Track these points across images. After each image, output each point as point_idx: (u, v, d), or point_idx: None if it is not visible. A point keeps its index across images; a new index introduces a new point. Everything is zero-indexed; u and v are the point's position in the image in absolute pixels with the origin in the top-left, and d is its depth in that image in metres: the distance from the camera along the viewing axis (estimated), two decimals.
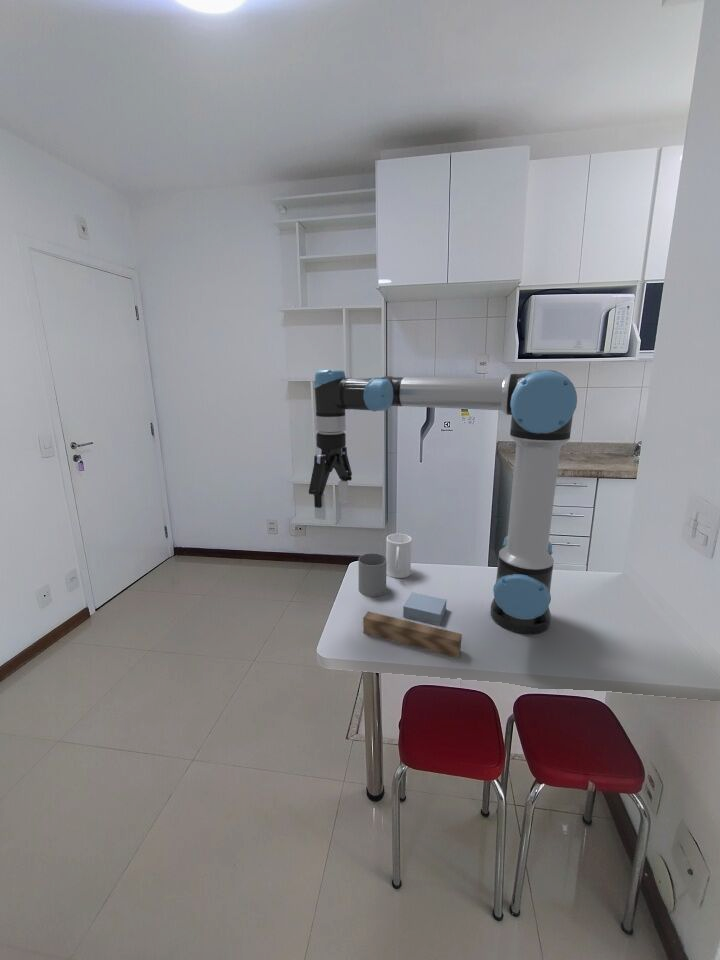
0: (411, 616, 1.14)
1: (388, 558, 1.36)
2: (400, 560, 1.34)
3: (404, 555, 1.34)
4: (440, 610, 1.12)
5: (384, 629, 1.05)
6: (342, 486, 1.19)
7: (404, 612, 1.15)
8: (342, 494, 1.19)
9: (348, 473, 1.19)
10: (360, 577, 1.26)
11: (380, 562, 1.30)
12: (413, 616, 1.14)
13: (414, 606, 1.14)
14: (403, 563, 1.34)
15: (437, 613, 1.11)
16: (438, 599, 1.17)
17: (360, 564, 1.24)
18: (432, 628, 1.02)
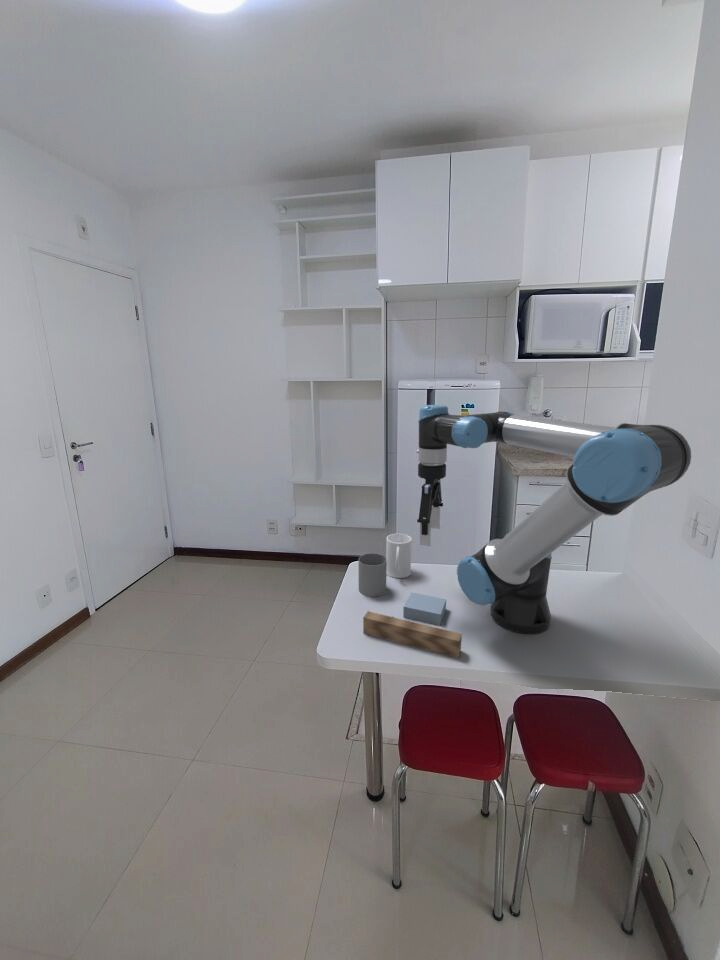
0: (411, 616, 1.14)
1: (388, 558, 1.36)
2: (400, 560, 1.34)
3: (404, 555, 1.34)
4: (440, 610, 1.12)
5: (384, 629, 1.05)
6: (434, 512, 1.25)
7: (404, 612, 1.14)
8: (434, 519, 1.26)
9: (439, 499, 1.26)
10: (360, 577, 1.26)
11: (380, 562, 1.30)
12: (413, 616, 1.14)
13: (414, 606, 1.14)
14: (403, 563, 1.34)
15: (437, 613, 1.11)
16: (438, 599, 1.18)
17: (360, 564, 1.24)
18: (432, 628, 1.02)
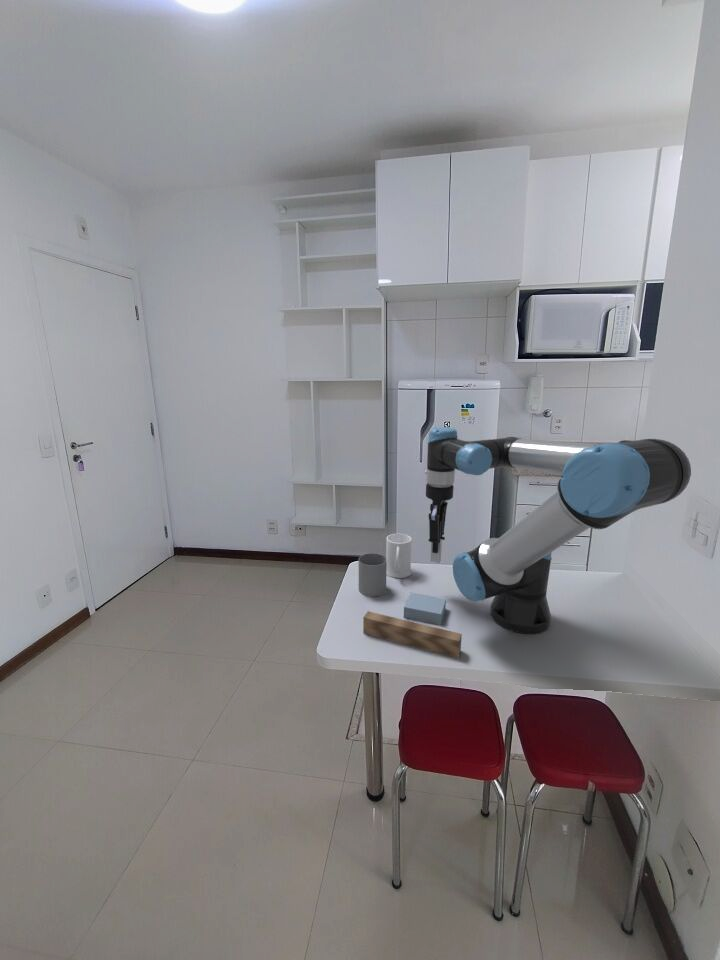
0: (412, 616, 1.14)
1: (388, 558, 1.36)
2: (400, 560, 1.34)
3: (404, 555, 1.34)
4: (441, 610, 1.12)
5: (384, 629, 1.05)
6: None
7: (405, 613, 1.14)
8: None
9: None
10: (360, 577, 1.26)
11: (380, 562, 1.30)
12: (414, 616, 1.14)
13: (415, 607, 1.14)
14: (403, 563, 1.34)
15: (438, 613, 1.11)
16: (438, 599, 1.18)
17: (360, 564, 1.24)
18: (432, 628, 1.02)
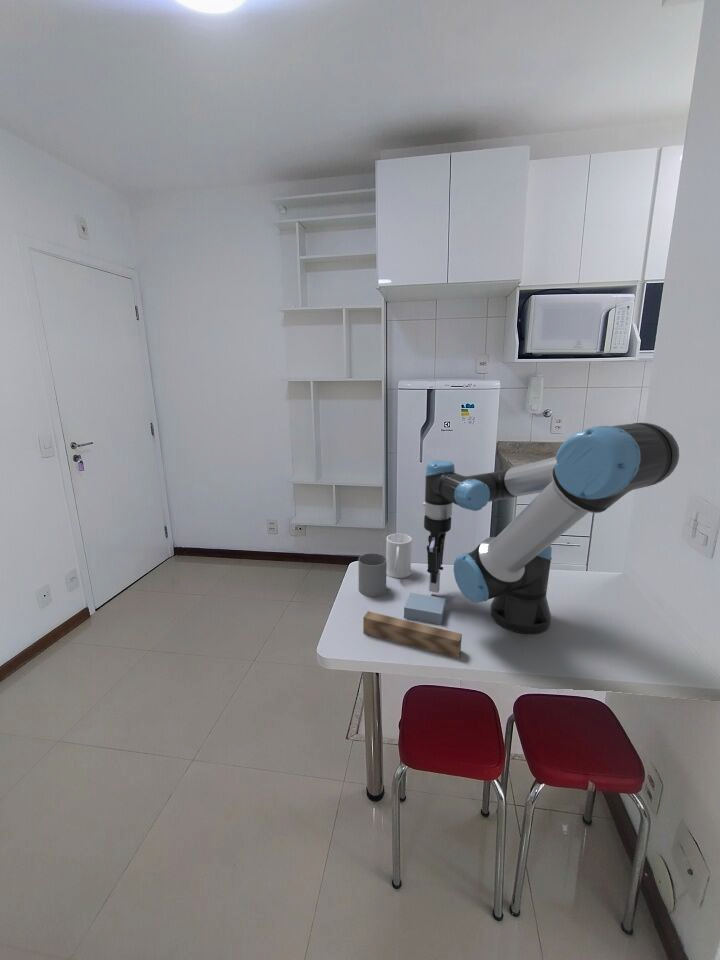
0: (412, 617, 1.14)
1: (388, 558, 1.36)
2: (400, 560, 1.34)
3: (404, 555, 1.34)
4: (441, 609, 1.13)
5: (384, 629, 1.05)
6: None
7: (405, 613, 1.14)
8: None
9: (440, 560, 1.25)
10: (360, 577, 1.26)
11: (380, 562, 1.30)
12: (414, 617, 1.13)
13: (415, 607, 1.14)
14: (403, 563, 1.34)
15: (438, 613, 1.11)
16: (437, 598, 1.18)
17: (360, 564, 1.24)
18: (432, 628, 1.02)
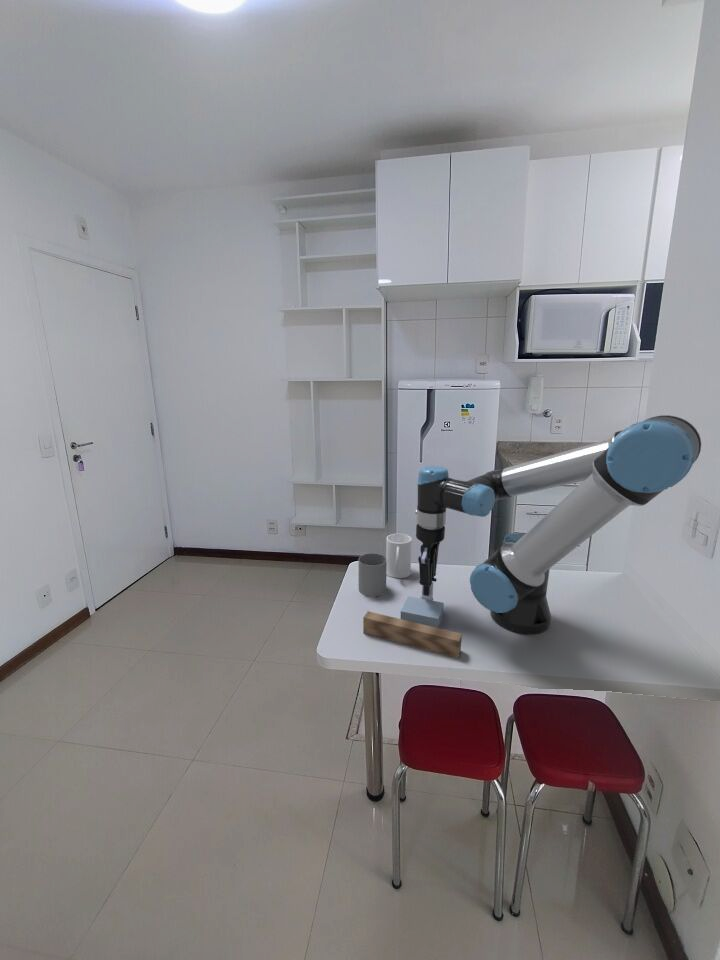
0: None
1: (388, 558, 1.36)
2: (400, 560, 1.34)
3: (404, 555, 1.34)
4: (438, 614, 1.10)
5: (384, 629, 1.05)
6: None
7: (401, 617, 1.12)
8: None
9: (433, 571, 1.18)
10: (360, 577, 1.26)
11: (380, 562, 1.30)
12: (411, 621, 1.11)
13: (412, 611, 1.12)
14: (403, 563, 1.34)
15: (435, 618, 1.09)
16: (435, 603, 1.16)
17: (360, 564, 1.24)
18: (432, 628, 1.02)
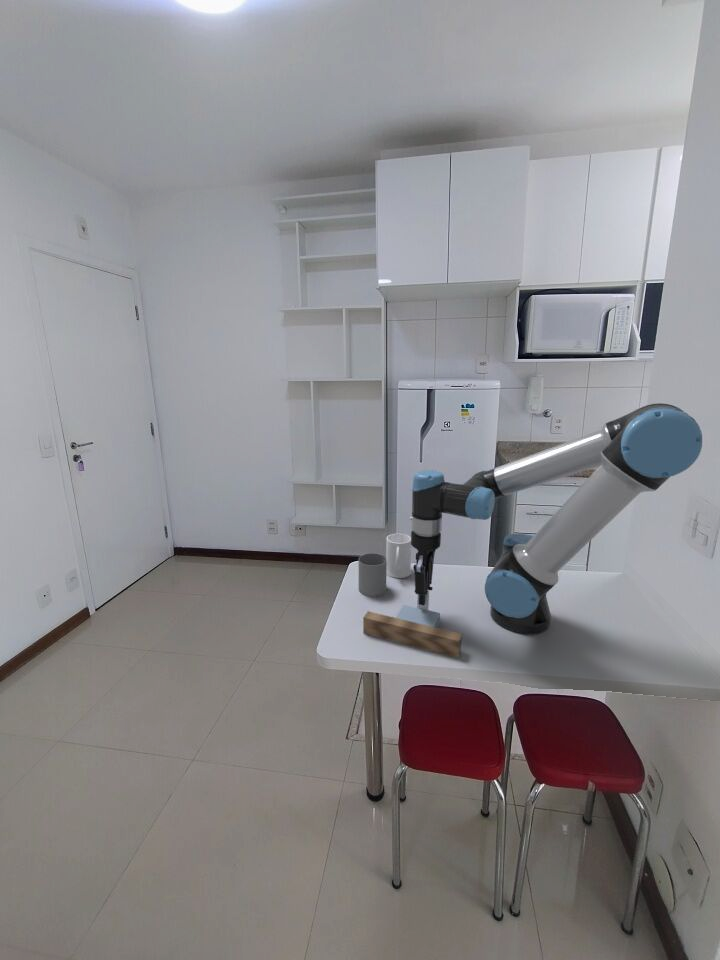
0: None
1: (388, 558, 1.36)
2: (400, 560, 1.34)
3: (404, 555, 1.34)
4: (433, 625, 1.06)
5: (384, 629, 1.05)
6: None
7: None
8: None
9: (429, 579, 1.14)
10: (360, 577, 1.26)
11: (380, 562, 1.30)
12: None
13: None
14: (403, 563, 1.34)
15: None
16: (431, 613, 1.11)
17: (360, 564, 1.24)
18: (432, 628, 1.02)
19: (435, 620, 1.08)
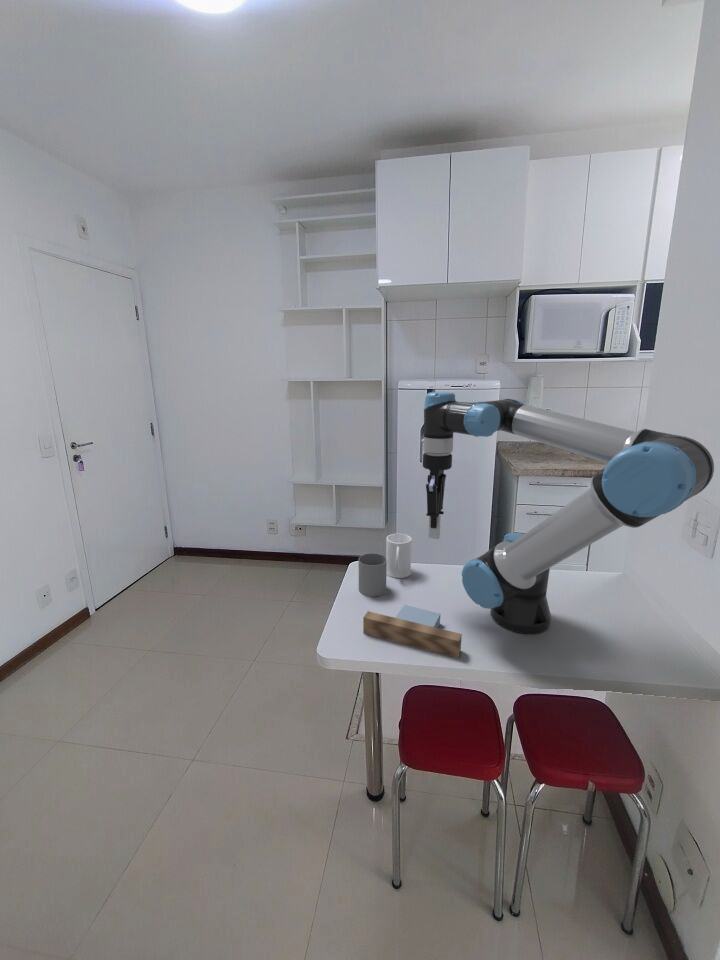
0: None
1: (388, 558, 1.36)
2: (400, 560, 1.34)
3: (404, 555, 1.34)
4: (432, 625, 1.06)
5: (384, 629, 1.05)
6: None
7: None
8: None
9: (440, 504, 1.16)
10: (360, 577, 1.26)
11: (380, 562, 1.30)
12: None
13: None
14: (403, 563, 1.34)
15: None
16: (431, 613, 1.11)
17: (360, 564, 1.24)
18: (432, 628, 1.02)
19: (435, 620, 1.08)
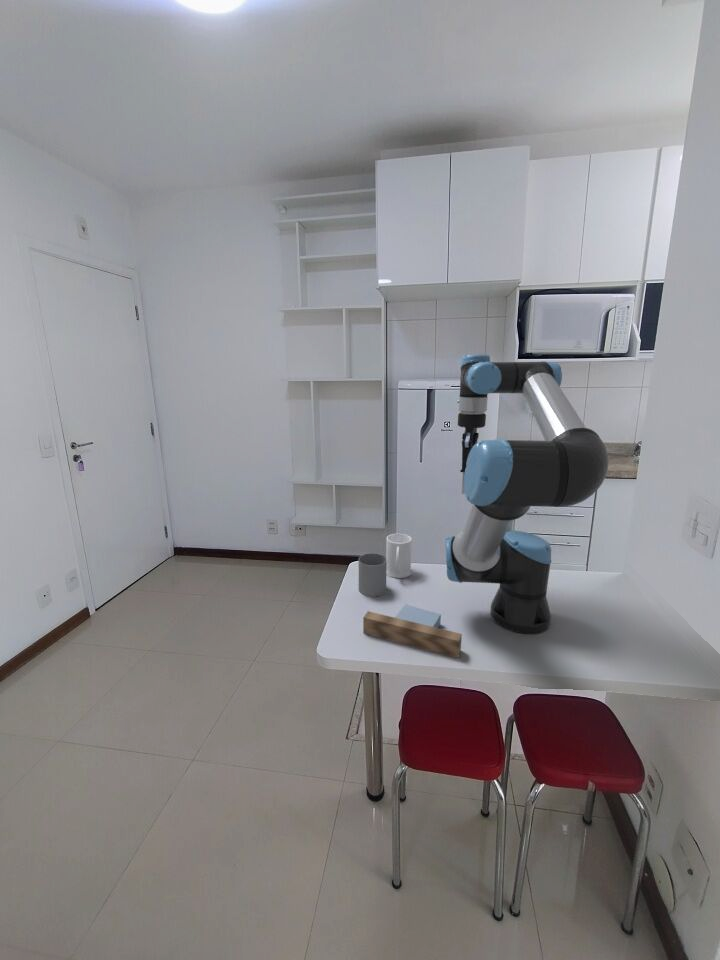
0: None
1: (388, 558, 1.36)
2: (400, 560, 1.34)
3: (404, 555, 1.34)
4: (431, 626, 1.06)
5: (384, 629, 1.05)
6: None
7: None
8: None
9: None
10: (360, 577, 1.26)
11: (380, 562, 1.30)
12: None
13: None
14: (403, 563, 1.34)
15: None
16: (432, 613, 1.11)
17: (360, 564, 1.24)
18: (432, 628, 1.02)
19: (435, 621, 1.08)
